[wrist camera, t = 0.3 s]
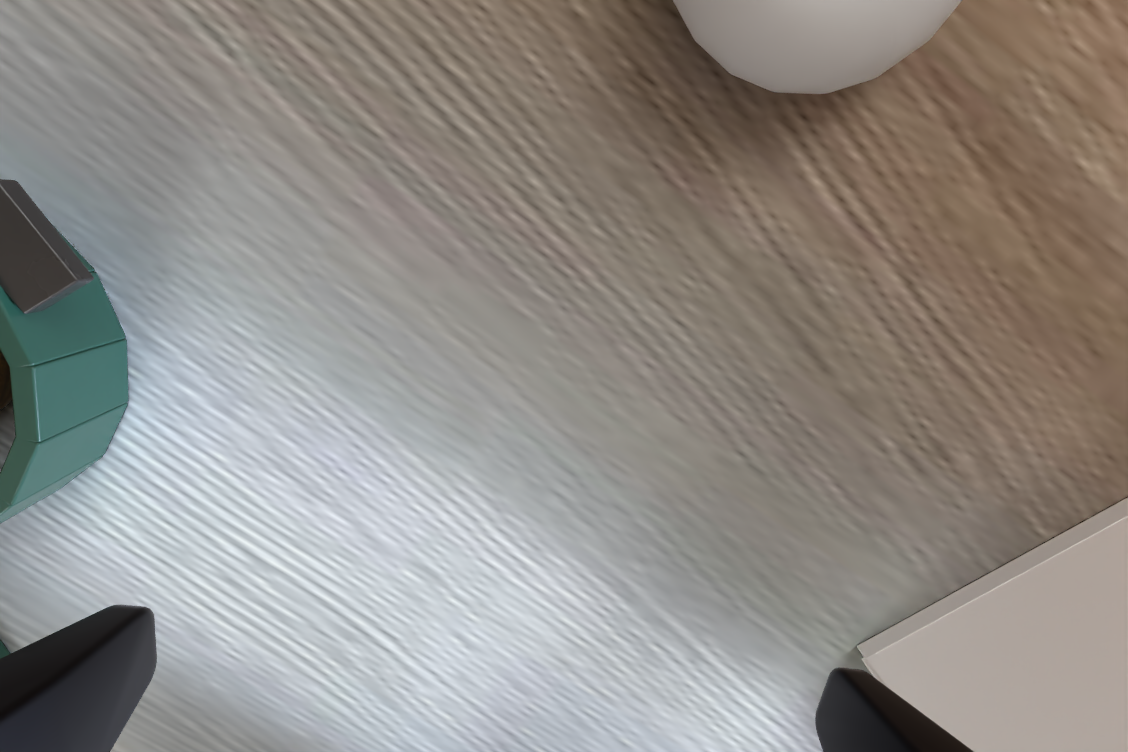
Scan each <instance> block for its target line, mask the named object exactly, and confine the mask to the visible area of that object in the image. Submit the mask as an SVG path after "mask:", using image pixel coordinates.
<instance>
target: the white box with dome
mask: <svg viewBox="0 0 1128 752" xmlns="http://www.w3.org/2000/svg"><path fill="white" fill-rule="evenodd" d="M857 648H858V649H859V651H860V653H861V654H862V656H863V657H864V658H862V661H863V662H864V664H865V666H866V667H867V668H868V670H869V671H870V672H871V674H872V675H873V676H874V678H876V679H877V680H878V681H880V682H881V683H882V684H884V685H885V686H886V687H888V688H889V689H890V690H892V691H893V692H895V693H896V694H897V695H899V696H900V697H901V698H903V699H904V700H905V701H907V702H908V703H909V704H911V705H912V706H913V707H915V708H916V709H917V710H919V711H920V712H921V713H923V714H924V715H925V716H927V717H928V718H929V719H931V720H932V721H934V722H935V723H936V724H938V725H939V726H940V727H942V728H943V729H944V730H946V731H947V732H948V733H950V734H951V735H952V736H954V737H955V738H956V739H958V740H959V741H960V742H962V743H963V744H964V745H966V746H967V747H969V748H970V749H971V750H973V751H974V752H1128V498H1126V499H1124V500H1122V501H1120V502H1118V503H1117V504H1115V505H1113V506H1111V507H1109V508H1107V509H1106V510H1104V511H1102V512H1100V513H1098V514H1097V515H1095V516H1093V517H1091V518H1089V519H1087V520H1086V521H1084V522H1082V523H1080V524H1078V525H1076V526H1075V527H1073V528H1071V529H1069V530H1067V531H1066V532H1064V533H1062V534H1060V535H1058V536H1056V537H1055V538H1053V539H1051V540H1049V541H1047V542H1045V543H1044V544H1042V545H1040V546H1038V547H1036V548H1034V549H1033V550H1031V551H1029V552H1027V553H1025V554H1024V555H1022V556H1020V557H1018V558H1016V559H1014V560H1013V561H1011V562H1009V563H1007V564H1005V565H1003V566H1002V567H1000V568H998V569H996V570H994V571H993V572H991V573H989V574H987V575H985V576H983V577H982V578H980V579H978V580H976V581H974V582H972V583H971V584H969V585H967V586H965V587H963V588H962V589H960V590H958V591H956V592H954V593H952V594H951V595H949V596H947V597H945V598H943V599H941V600H940V601H938V602H936V603H934V604H932V605H931V606H929V607H927V608H925V609H923V610H921V611H920V612H918V613H916V614H914V615H912V616H910V617H909V618H907V619H905V620H903V621H901V622H899V623H898V624H896V625H894V626H892V627H890V628H889V629H887V630H885V631H883V632H881V633H879V634H878V635H876V636H874V637H872V638H870V639H868V640H867V641H865V642H863V643H861V644H859V645H858V646H857Z"/></svg>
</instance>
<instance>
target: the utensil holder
mask: <svg viewBox="0 0 1128 752" xmlns="http://www.w3.org/2000/svg"><path fill="white" fill-rule="evenodd" d="M11 401H12V389H11V378H10V367H9V365H8V363H7V361H6V359H5V357H4V356H3V354H2V352H1V350H0V410H1V409H3V408H4V407H5V406H6V405H8V404H9V403H10V402H11Z"/></svg>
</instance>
